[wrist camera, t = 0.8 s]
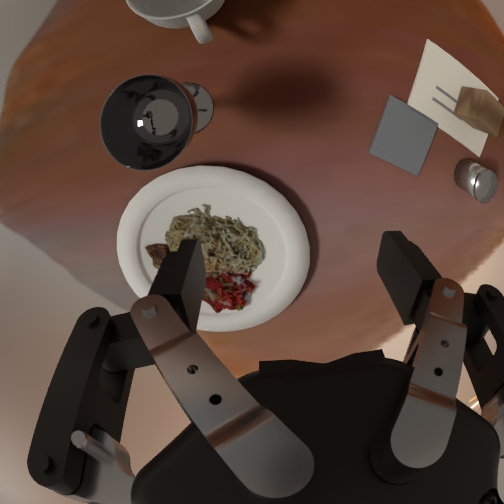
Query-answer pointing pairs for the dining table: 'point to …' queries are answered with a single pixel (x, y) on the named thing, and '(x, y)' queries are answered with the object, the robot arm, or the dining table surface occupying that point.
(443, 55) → the envelope
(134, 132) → the wine glass
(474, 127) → the walnut block
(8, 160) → the dining table surface
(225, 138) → the dining table surface
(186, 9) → the teacup
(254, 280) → the plated food
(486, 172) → the tin
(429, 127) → the coaster
